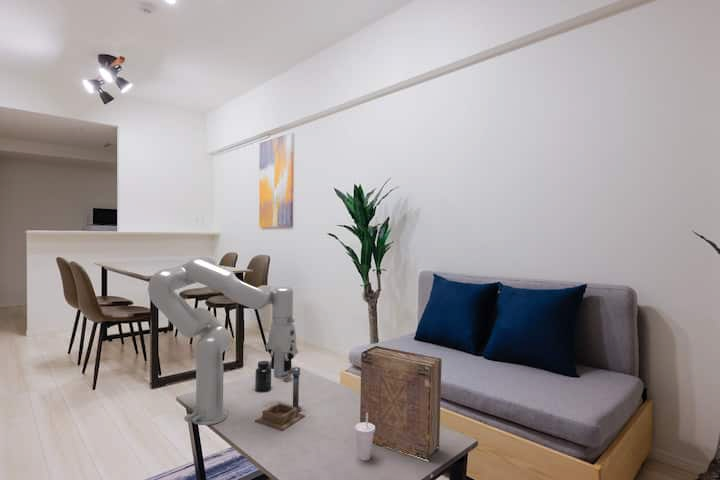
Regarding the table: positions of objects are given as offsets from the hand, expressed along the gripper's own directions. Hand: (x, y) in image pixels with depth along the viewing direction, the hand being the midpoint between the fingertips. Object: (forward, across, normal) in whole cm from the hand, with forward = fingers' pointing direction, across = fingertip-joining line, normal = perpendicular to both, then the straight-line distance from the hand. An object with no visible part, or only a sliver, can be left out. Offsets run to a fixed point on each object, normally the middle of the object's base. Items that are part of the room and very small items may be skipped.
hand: (281, 368), depth 152 cm
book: (+19, -45, -7) cm, 50 cm away
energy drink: (+3, 0, 0) cm, 3 cm away
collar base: (+19, 0, -2) cm, 19 cm away
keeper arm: (+5, +6, -9) cm, 12 cm away
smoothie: (+19, -39, +6) cm, 44 cm away
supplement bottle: (+19, +25, -18) cm, 36 cm away
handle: (+19, +23, -32) cm, 44 cm away
